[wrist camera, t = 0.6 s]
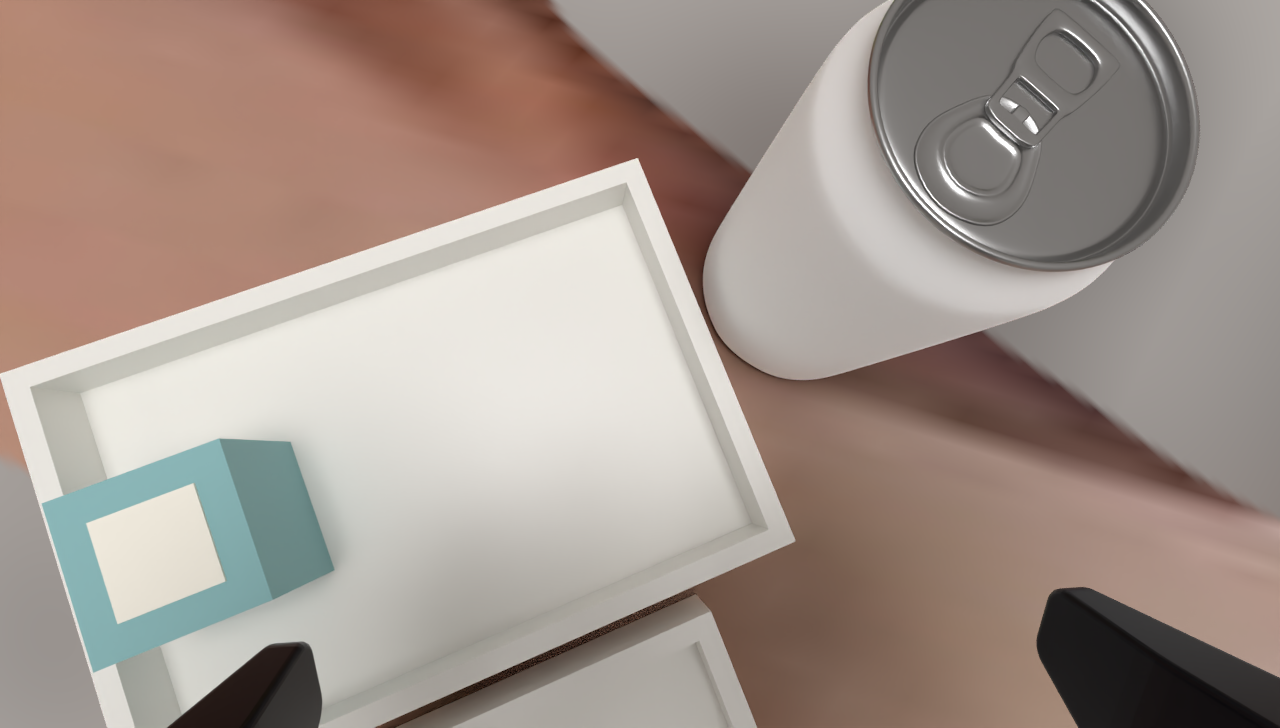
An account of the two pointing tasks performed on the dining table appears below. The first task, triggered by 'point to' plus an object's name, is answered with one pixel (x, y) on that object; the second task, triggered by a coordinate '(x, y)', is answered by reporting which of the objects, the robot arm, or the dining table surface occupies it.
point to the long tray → (436, 446)
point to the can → (952, 179)
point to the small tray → (617, 682)
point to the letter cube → (185, 544)
